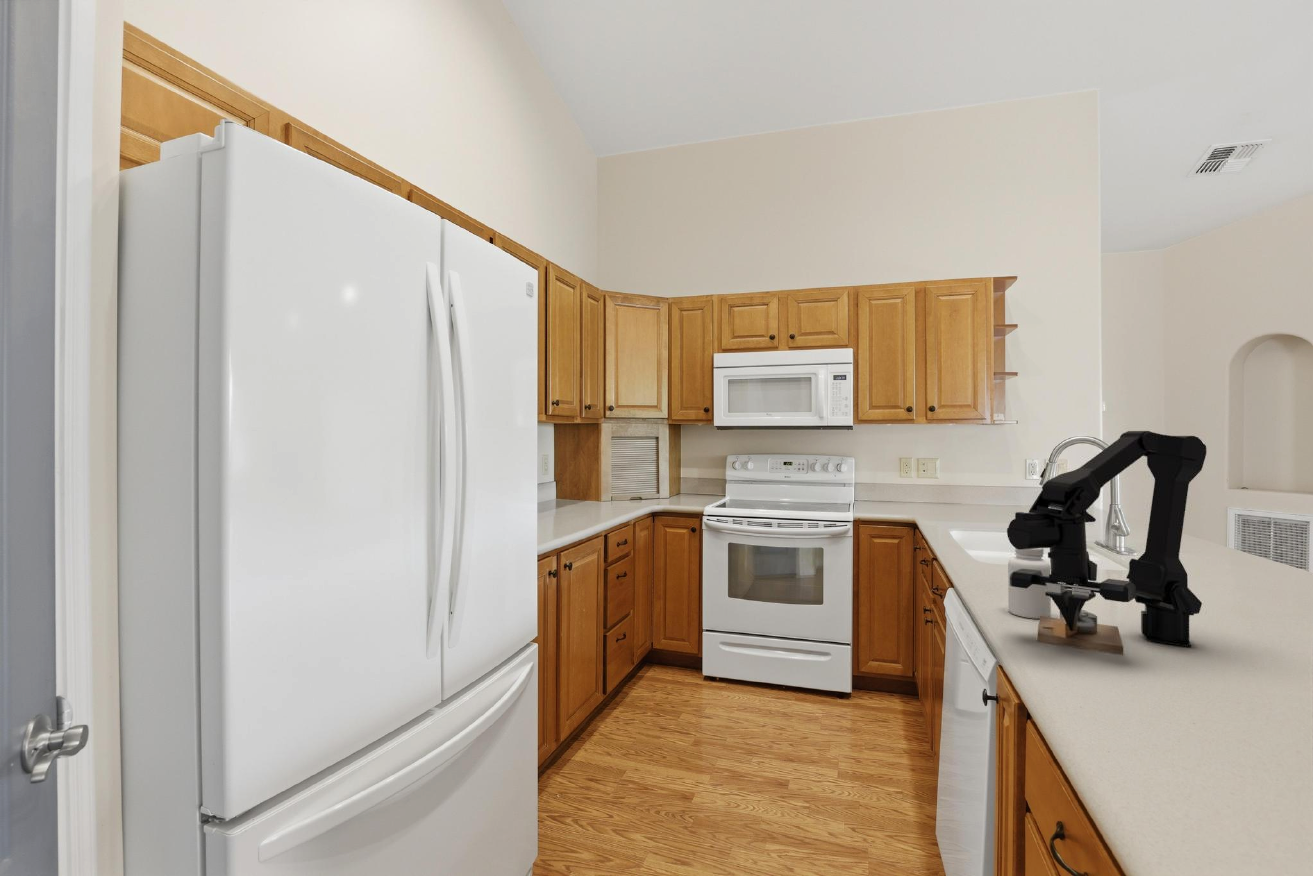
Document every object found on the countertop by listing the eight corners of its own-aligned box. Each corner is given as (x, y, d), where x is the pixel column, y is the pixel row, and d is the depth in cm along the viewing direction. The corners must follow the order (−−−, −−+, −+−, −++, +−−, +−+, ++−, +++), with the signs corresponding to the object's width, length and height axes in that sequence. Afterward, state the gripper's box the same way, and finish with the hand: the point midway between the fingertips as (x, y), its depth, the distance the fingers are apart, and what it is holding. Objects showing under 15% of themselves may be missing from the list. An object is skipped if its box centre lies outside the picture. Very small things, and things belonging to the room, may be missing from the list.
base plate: (1117, 634, 118) (1117, 625, 118) (1123, 654, 107) (1123, 644, 107) (1039, 622, 125) (1039, 614, 125) (1037, 641, 114) (1037, 631, 114)
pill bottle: (1050, 612, 132) (1049, 545, 132) (1051, 622, 125) (1050, 551, 125) (1008, 606, 136) (1008, 542, 136) (1007, 616, 130) (1007, 548, 129)
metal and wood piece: (1067, 621, 120) (1067, 604, 120) (1102, 629, 115) (1102, 612, 115) (1041, 633, 114) (1041, 615, 113) (1077, 642, 109) (1077, 623, 109)
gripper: (1142, 546, 108) (1147, 632, 108) (1028, 537, 123) (1032, 613, 122) (1124, 554, 101) (1129, 646, 101) (1006, 543, 116) (1010, 623, 116)
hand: (1072, 630), depth 110 cm, fingers closed
